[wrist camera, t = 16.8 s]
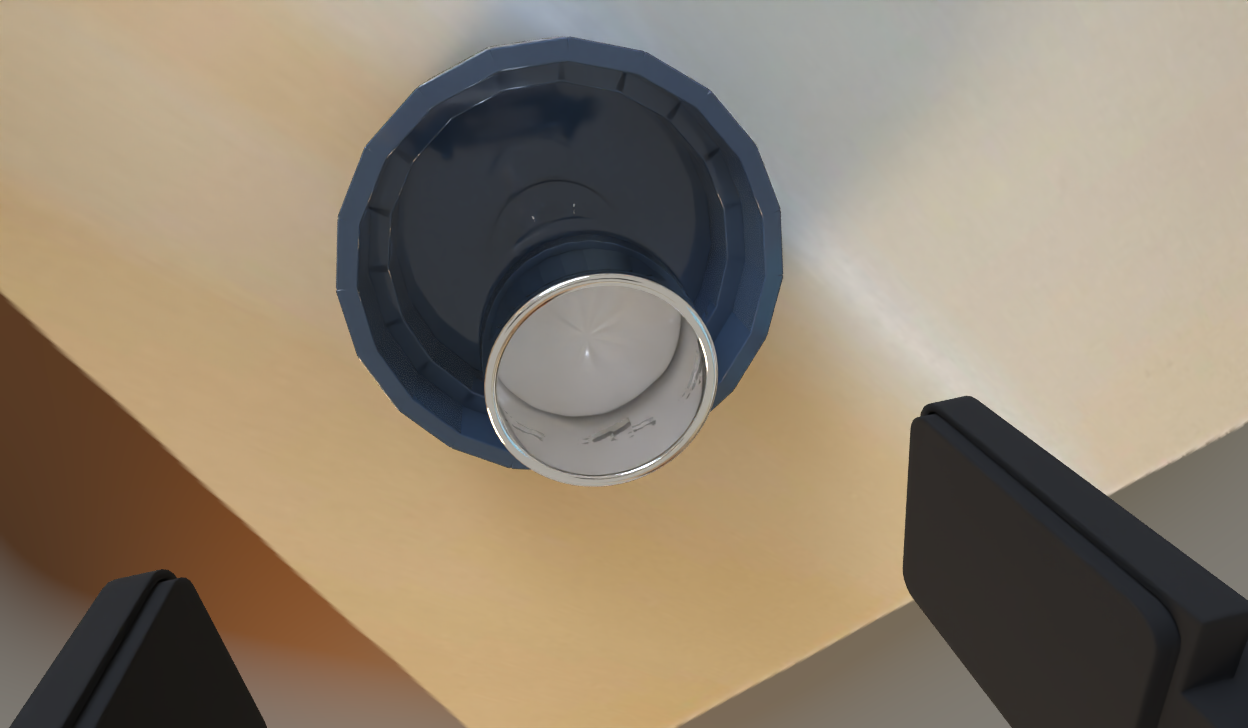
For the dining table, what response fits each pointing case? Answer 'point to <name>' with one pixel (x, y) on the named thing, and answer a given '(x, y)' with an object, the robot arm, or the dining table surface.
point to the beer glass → (589, 343)
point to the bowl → (526, 156)
